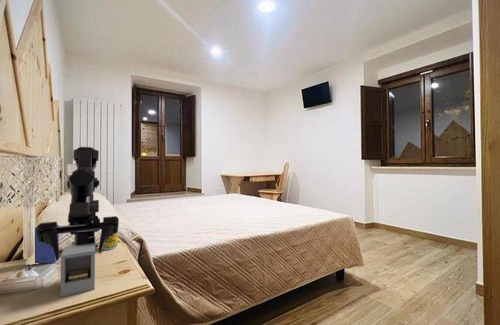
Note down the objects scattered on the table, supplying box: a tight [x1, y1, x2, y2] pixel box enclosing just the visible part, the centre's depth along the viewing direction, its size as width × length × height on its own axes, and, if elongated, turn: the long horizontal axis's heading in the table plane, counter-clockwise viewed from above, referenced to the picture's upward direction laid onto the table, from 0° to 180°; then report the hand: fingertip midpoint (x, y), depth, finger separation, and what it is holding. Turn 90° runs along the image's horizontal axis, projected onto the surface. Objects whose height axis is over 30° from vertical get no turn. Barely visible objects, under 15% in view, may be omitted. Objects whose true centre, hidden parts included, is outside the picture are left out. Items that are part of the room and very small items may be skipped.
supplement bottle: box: [102, 231, 119, 251], centre depth 94 cm, size 5×5×10 cm
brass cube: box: [69, 268, 88, 282], centre depth 65 cm, size 4×4×4 cm
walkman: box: [34, 224, 60, 264], centre depth 80 cm, size 8×3×12 cm, turn 109°
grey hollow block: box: [59, 242, 96, 298], centre depth 65 cm, size 7×7×10 cm
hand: (79, 256), depth 65 cm, fingers open, 9 cm apart
